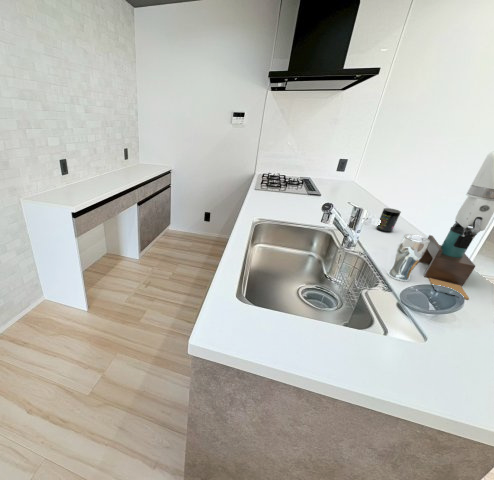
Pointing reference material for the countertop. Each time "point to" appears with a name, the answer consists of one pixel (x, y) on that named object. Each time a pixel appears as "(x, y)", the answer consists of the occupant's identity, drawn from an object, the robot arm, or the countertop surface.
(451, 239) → the spice tin
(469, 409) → the countertop surface
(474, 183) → the robot arm
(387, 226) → the supplement container
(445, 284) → the cork mat
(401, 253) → the beer glass
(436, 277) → the shelf
